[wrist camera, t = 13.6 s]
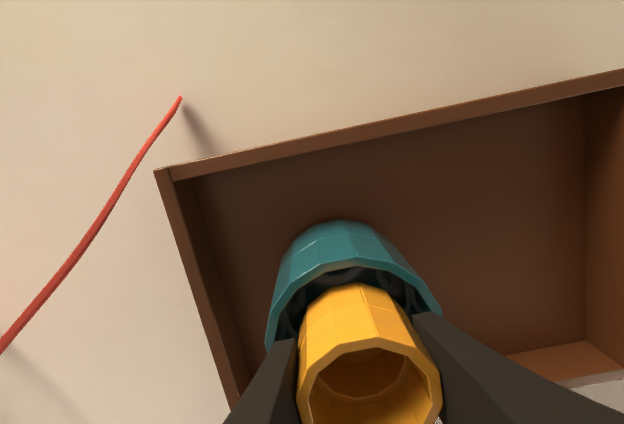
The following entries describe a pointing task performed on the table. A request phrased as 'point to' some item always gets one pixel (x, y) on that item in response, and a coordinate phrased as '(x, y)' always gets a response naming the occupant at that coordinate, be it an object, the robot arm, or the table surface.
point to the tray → (432, 223)
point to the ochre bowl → (363, 362)
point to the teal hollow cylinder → (341, 274)
